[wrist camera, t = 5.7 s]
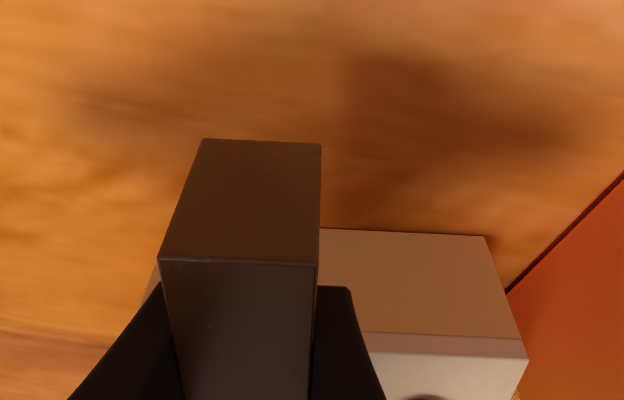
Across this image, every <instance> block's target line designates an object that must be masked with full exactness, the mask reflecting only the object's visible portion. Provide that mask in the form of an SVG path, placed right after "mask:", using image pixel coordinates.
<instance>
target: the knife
mask: <svg viewBox="0 0 624 400" xmlns="http://www.w3.org/2000/svg"><path fill="white" fill-rule="evenodd" d="M320 188H321V145H320V144H316V143H296V142H275V141H254V140H233V139H212V138H204V139H202V141H201V143H200V146H199V149H198V151H197V154H196V156H195V159H194V162H193V164H192V167H191V169H190V172H189V175H188V177H187V180H186V182H185V185H184V188H183V190H182V193H181V195H180V198H179V201H178V203H177V206H176V208H175V211H174V214H173V216H172V219H171V221H170V224H169V227H168V229H167V232H166V234H165V237H164V240H163V242H162V245H161V247H160V250H159V252H158V255H157V262H158V267H159V272H160V277H161V283H162V288H163V293H164V298H165V303H166V308H167V314H168V319H169V324H170V329H171V334H172V339H173V345H174V350H175V355H176V360H177V365H178V371H179V376H180V381H181V386H182V391H183V396H184V400H310V390H311V375H312V360H313V345H314V330H315V315H316V300H317V285H318V270H319V235H320Z"/></svg>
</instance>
